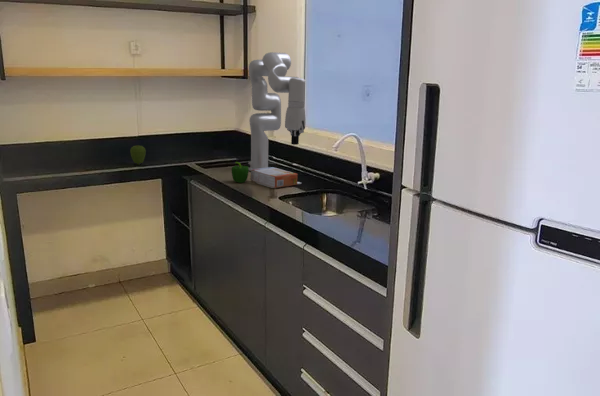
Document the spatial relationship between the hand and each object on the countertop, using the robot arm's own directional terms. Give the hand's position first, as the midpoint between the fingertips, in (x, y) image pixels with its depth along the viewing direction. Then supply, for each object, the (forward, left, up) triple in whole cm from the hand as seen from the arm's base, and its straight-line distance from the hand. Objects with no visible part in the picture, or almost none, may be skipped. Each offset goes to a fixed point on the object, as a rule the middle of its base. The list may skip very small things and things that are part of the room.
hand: (294, 144), depth 242 cm
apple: (-94, -36, -21) cm, 103 cm away
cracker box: (-2, -3, -18) cm, 18 cm away
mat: (-11, 0, -21) cm, 24 cm away
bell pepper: (-25, -14, -21) cm, 35 cm away
